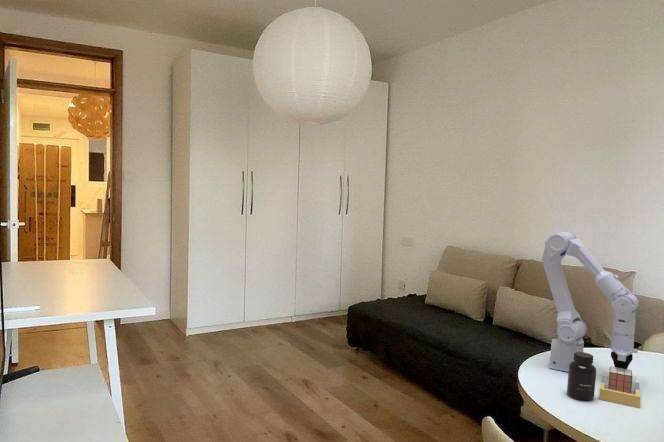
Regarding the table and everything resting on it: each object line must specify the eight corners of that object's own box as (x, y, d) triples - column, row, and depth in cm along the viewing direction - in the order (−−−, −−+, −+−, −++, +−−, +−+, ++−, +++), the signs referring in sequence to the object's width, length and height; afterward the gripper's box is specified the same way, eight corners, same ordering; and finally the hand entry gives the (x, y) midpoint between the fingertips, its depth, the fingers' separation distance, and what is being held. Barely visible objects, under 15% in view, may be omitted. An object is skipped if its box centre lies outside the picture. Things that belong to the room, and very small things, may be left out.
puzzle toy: (630, 388, 144) (632, 369, 144) (631, 395, 139) (632, 376, 139) (608, 384, 147) (609, 365, 147) (607, 391, 142) (609, 371, 142)
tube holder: (599, 399, 136) (599, 388, 136) (601, 383, 147) (601, 373, 147) (639, 408, 131) (640, 397, 131) (638, 391, 142) (639, 381, 142)
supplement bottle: (583, 403, 133) (586, 360, 132) (561, 393, 139) (564, 352, 138) (599, 399, 136) (602, 356, 136) (577, 389, 142) (580, 348, 142)
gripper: (639, 342, 139) (636, 388, 140) (638, 329, 152) (635, 372, 153) (610, 337, 143) (607, 383, 144) (612, 325, 155) (609, 367, 157)
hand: (620, 377), depth 149 cm, fingers closed
